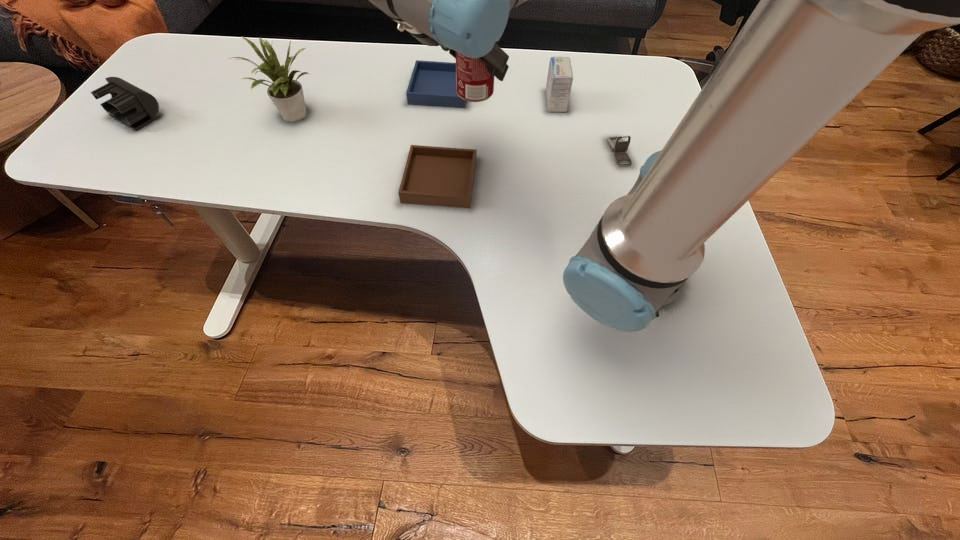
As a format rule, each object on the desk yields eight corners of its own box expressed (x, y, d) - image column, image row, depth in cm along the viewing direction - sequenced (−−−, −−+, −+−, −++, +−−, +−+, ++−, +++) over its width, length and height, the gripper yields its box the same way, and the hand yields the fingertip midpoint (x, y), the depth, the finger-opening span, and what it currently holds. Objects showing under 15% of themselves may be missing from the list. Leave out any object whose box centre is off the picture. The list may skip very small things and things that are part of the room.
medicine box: (566, 112, 98) (574, 77, 91) (546, 112, 98) (552, 76, 91) (563, 91, 102) (570, 56, 95) (544, 91, 102) (550, 55, 95)
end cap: (167, 114, 95) (147, 86, 89) (137, 132, 91) (115, 104, 86) (138, 99, 98) (118, 71, 92) (108, 115, 94) (85, 87, 89)
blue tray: (465, 108, 98) (465, 97, 96) (407, 104, 98) (406, 93, 96) (470, 74, 105) (471, 63, 103) (417, 71, 106) (415, 60, 104)
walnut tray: (470, 208, 81) (470, 198, 79) (400, 203, 82) (398, 192, 79) (476, 160, 89) (476, 149, 86) (412, 155, 89) (410, 144, 87)
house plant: (240, 121, 94) (202, 47, 80) (285, 88, 101) (256, 14, 87) (292, 142, 90) (260, 68, 77) (334, 106, 97) (312, 33, 84)
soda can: (489, 107, 77) (493, 40, 67) (452, 102, 78) (450, 35, 68) (496, 85, 81) (500, 19, 71) (460, 81, 82) (460, 14, 72)
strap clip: (605, 140, 93) (610, 123, 89) (619, 138, 93) (625, 122, 90) (618, 167, 88) (624, 150, 85) (632, 166, 88) (638, 149, 85)
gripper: (357, 13, 61) (434, 68, 82) (474, 59, 55) (524, 106, 76) (375, -44, 59) (449, 28, 80) (498, -3, 53) (543, 63, 74)
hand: (486, 66), depth 78 cm, fingers closed on soda can, 7 cm apart
